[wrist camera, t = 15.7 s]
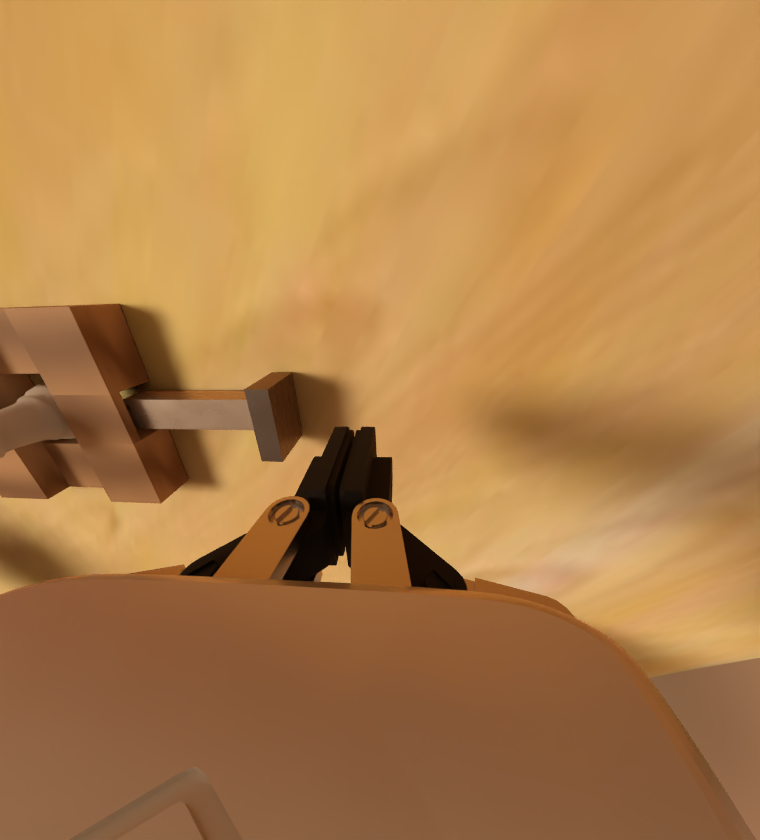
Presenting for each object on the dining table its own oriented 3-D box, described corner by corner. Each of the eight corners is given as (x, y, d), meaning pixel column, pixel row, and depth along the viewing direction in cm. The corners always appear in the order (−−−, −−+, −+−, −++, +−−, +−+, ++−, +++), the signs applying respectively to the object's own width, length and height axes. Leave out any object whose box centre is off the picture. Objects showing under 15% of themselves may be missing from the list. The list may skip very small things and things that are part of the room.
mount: (188, 479, 24) (160, 503, 21) (45, 475, 25) (2, 497, 23) (119, 303, 18) (68, 306, 15) (-63, 310, 20) (-139, 313, 17)
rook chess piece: (65, 366, 21) (-121, 407, 13) (117, 412, 22) (-26, 473, 15) (39, 397, 22) (-142, 450, 15) (89, 439, 23) (-54, 507, 16)
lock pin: (302, 434, 21) (282, 461, 18) (162, 433, 22) (119, 458, 19) (291, 372, 19) (267, 389, 16) (137, 373, 20) (85, 390, 17)
